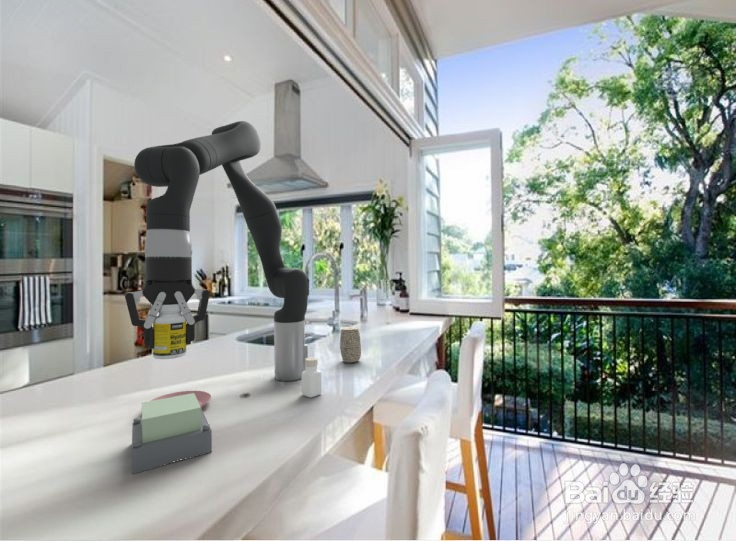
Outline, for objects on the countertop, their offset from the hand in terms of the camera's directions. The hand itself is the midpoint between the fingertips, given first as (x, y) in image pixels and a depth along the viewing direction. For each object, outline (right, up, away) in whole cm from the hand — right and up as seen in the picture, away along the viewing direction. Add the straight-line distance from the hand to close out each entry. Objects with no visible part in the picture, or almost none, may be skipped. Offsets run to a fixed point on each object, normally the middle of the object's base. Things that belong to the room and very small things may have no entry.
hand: (169, 345), depth 65 cm
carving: (+31, -19, +59) cm, 69 cm away
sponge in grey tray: (0, -19, 0) cm, 19 cm away
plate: (-8, -19, +18) cm, 28 cm away
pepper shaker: (+22, -19, +27) cm, 39 cm away
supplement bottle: (0, -2, 0) cm, 2 cm away
